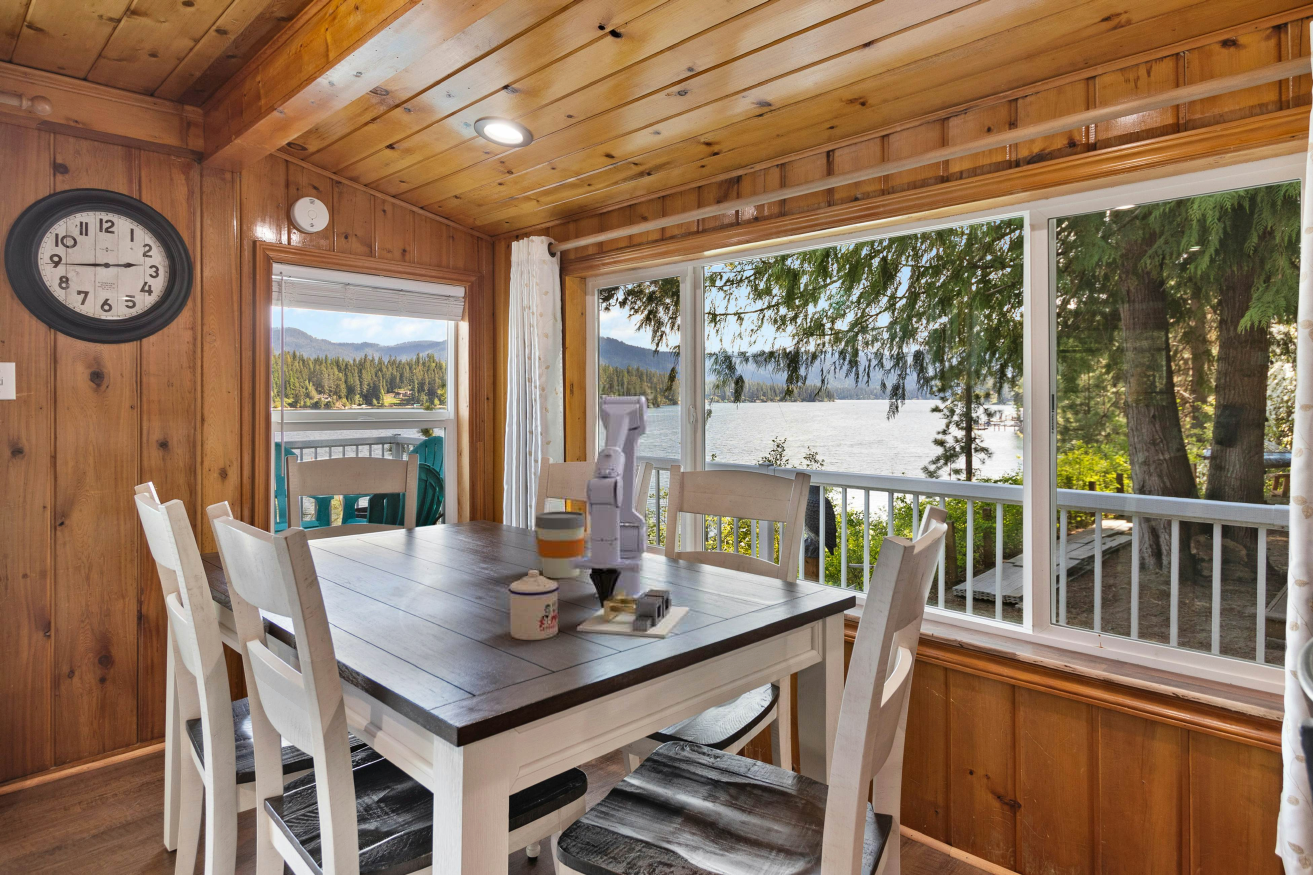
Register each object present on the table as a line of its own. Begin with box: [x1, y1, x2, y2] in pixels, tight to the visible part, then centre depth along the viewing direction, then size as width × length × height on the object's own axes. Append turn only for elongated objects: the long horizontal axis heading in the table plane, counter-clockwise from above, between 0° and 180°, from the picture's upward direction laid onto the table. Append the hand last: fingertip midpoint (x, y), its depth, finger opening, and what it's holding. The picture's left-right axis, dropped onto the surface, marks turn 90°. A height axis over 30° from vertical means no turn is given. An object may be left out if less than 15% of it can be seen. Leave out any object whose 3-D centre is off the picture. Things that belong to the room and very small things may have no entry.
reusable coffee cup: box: [534, 510, 587, 579], centre depth 187 cm, size 13×13×15 cm
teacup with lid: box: [508, 569, 560, 641], centre depth 139 cm, size 12×9×12 cm
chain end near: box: [633, 595, 662, 632], centre depth 141 cm, size 4×8×4 cm, turn 164°
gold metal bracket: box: [604, 589, 640, 621], centre depth 146 cm, size 8×10×4 cm
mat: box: [576, 605, 690, 639], centre depth 146 cm, size 17×19×1 cm
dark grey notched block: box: [643, 588, 672, 618], centre depth 150 cm, size 4×8×4 cm, turn 164°
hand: (605, 606), depth 148 cm, fingers closed
